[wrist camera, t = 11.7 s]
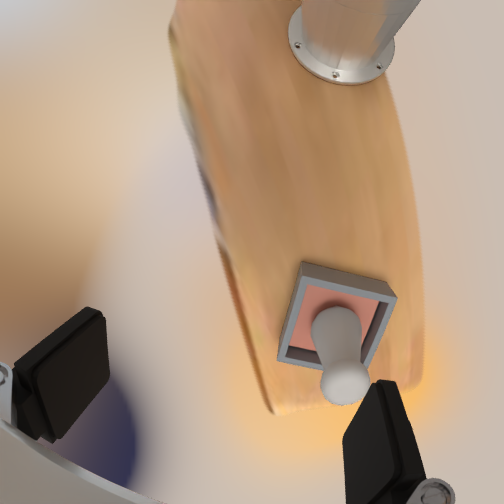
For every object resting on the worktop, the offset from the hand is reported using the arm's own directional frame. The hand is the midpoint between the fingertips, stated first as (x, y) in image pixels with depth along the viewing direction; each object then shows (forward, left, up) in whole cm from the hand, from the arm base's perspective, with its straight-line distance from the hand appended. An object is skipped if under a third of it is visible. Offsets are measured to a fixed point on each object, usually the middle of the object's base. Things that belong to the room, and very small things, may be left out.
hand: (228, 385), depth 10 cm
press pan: (+9, +9, -26) cm, 29 cm away
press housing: (+9, +9, -28) cm, 30 cm away
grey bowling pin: (+9, +9, -25) cm, 28 cm away
